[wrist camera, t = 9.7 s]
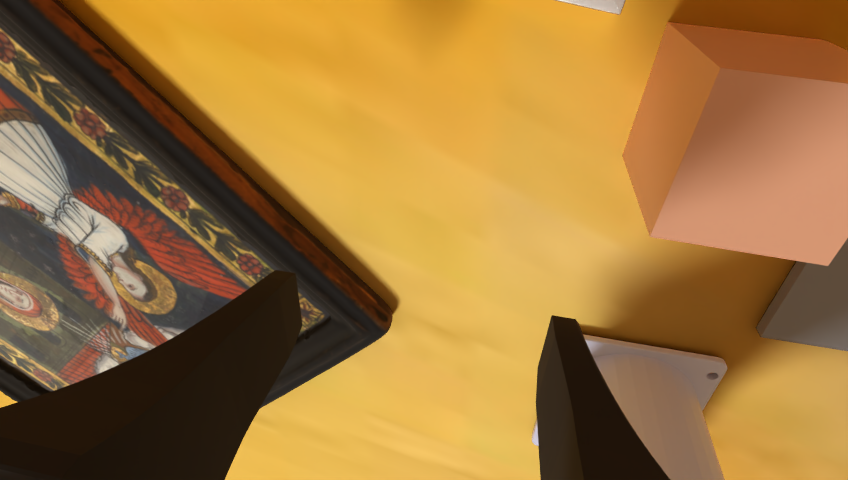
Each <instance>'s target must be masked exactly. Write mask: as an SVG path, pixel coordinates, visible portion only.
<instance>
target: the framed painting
mask: <svg viewBox="0 0 848 480" xmlns="http://www.w3.org/2000/svg"><path fill="white" fill-rule="evenodd" d="M275 270H280V271H286V272H292V273H296V279H297V287H298V294H299V302H300V309H301V317H302V324H303V325H302V328H301V330H300V333H299V335H298V338H297V340H296V343H295V345H294V347H293V350H292V352H291V354H290V357H289V358H288V360H287V362H286V364H285V365H284V367H283V369H282V371H281V372H280V374H279V376H278V378H277V379H276V381H275V383H274V385H273V386H272V388H271V390H270V391H269V393H268V395H267V397H266V398H265V400H264V402H263V403H262V405H261V407H260V408H262V407H263V406H265V405H267V404H268V403H270V402H272V401H274V400H276V399H277V398H279V397H281V396H283V395H285V394H286V393H288V392H290V391H291V390H293V389H295V388H297V387H298V386H300V385H302V384H304V383H305V382H307V381H309V380H311V379H312V378H314V377H316V376H317V375H319V374H321V373H323V372H325V371H326V370H328V369H330V368H332V367H333V366H335V365H337V364H338V363H340V362H342V361H344V360H345V359H347V358H349V357H350V356H352V355H354V354H355V353H357V352H359V351H360V350H362V349H364V348H365V347H367V346H369V345H370V344H372V343H373V342H375V341H376V340H378V339H379V338H381V337H382V336H383V335H385V334H386V333H387V332H388V330H389V328H390V326H391V322H392V311H391V309H390V308H389V306H388V305H387V304H386V303H385V302H384V301H383V300H382V299H381V298H380V297H379V296H378V295H377V294H376V293H375V292H374V291H373V290H372V289H371V288H370V287H369V286H368V285H367V284H366V283H364V282H363V281H362V280H361V279H360V278H359V277H358V276H357V275H356V274H355V273H354V272H353V271H351V270H350V269H349V268H348V267H347V266H346V265H345V264H344V263H343V262H342V261H341V260H340V259H338V258H337V257H336V256H335V255H334V254H333V253H332V252H331V251H330V250H329V249H328V248H327V247H325V246H324V245H323V244H322V243H321V242H320V241H319V240H318V239H317V238H316V237H315V236H313V235H312V234H311V233H310V232H309V231H308V230H307V229H306V228H305V227H304V226H303V225H301V224H300V223H299V222H298V221H297V220H296V219H295V218H294V217H293V216H292V215H291V214H290V213H289V212H287V211H286V210H285V209H284V208H283V207H282V206H281V205H280V204H279V203H278V202H277V201H275V200H274V199H273V198H272V197H271V196H270V195H269V194H268V193H267V192H266V191H265V190H264V189H262V188H261V187H260V186H259V185H258V184H257V183H256V182H255V181H254V180H253V179H252V178H251V177H249V176H248V175H247V174H246V173H245V172H244V171H243V170H242V169H241V168H240V167H239V166H238V165H237V164H236V163H234V162H233V161H232V160H231V159H230V158H229V157H228V156H227V155H226V154H225V153H224V152H222V151H221V150H220V149H219V148H218V147H217V146H216V145H215V144H214V143H213V142H212V141H210V140H209V139H208V138H207V137H206V136H205V135H204V134H203V133H202V132H201V131H200V130H199V129H197V128H196V127H195V126H194V125H193V124H192V123H191V122H190V121H188V120H187V119H186V118H185V117H184V116H183V115H182V114H181V113H180V112H179V111H178V110H177V109H176V108H174V107H173V106H172V105H171V104H170V103H169V102H168V101H167V100H166V99H165V98H164V97H163V96H161V95H160V94H159V93H158V92H157V91H156V90H155V89H154V88H153V87H152V86H151V85H150V84H148V83H147V82H146V81H145V80H144V79H143V78H142V77H141V76H140V75H139V74H138V73H137V72H135V71H134V70H133V69H132V68H131V67H130V66H129V65H128V64H127V63H126V62H124V61H123V60H122V59H121V58H120V57H119V56H118V55H117V54H116V53H115V52H113V51H112V50H111V49H110V48H109V47H108V46H107V45H106V44H105V43H104V42H103V41H102V40H100V39H99V38H98V37H97V36H96V35H95V34H94V33H93V32H92V31H91V30H90V29H89V28H87V27H86V26H85V25H84V24H83V23H82V22H81V21H80V20H79V19H78V18H77V17H76V16H74V15H73V14H72V13H71V12H70V11H69V10H68V9H67V8H66V7H65V6H64V5H63V4H61V3H60V2H59V1H58V0H0V391H2V392H3V393H4V394H5V395H7V396H9V397H10V398H12V399H13V400H15V401H17V402H21V401H24V400H27V399H30V398H33V397H37V396H40V395H43V394H46V393H49V392H52V391H55V390H57V389H60V388H63V387H65V386H68V385H71V384H74V383H76V382H79V381H81V380H84V379H86V378H89V377H92V376H94V375H97V374H99V373H101V372H104V371H106V370H108V369H110V368H113V367H115V366H117V365H119V364H121V363H124V362H126V361H128V360H130V359H132V358H135V357H137V356H139V355H141V354H143V353H145V352H147V351H149V350H151V349H153V348H155V347H157V346H159V345H160V344H162V343H164V342H166V341H168V340H170V339H171V338H173V337H175V336H177V335H179V334H180V333H182V332H184V331H185V330H187V329H188V328H190V327H192V326H193V325H195V324H196V323H198V322H200V321H201V320H203V319H204V318H206V317H208V316H209V315H211V314H212V313H214V312H216V311H217V310H219V309H220V308H221V307H223V306H224V305H226V304H227V303H229V302H230V301H232V300H233V299H235V298H236V297H238V296H239V295H240V294H242V293H243V292H245V291H246V290H248V289H249V288H250V287H252V286H253V285H255V284H256V283H257V282H259V281H260V280H262V279H263V278H264V277H266V276H267V275H269V274H270V273H272V272H273V271H275ZM260 408H259V409H260Z"/></svg>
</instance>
